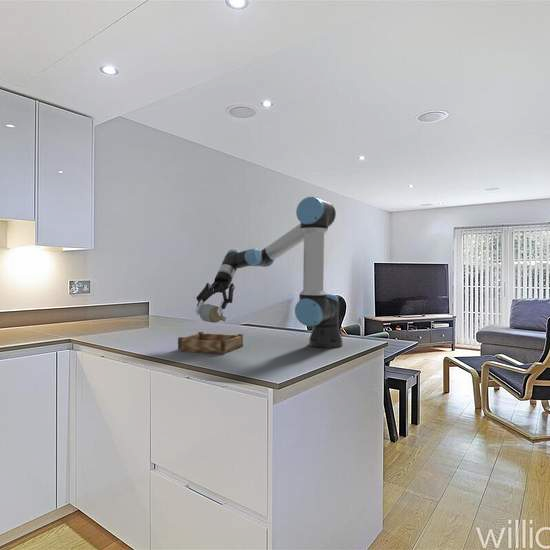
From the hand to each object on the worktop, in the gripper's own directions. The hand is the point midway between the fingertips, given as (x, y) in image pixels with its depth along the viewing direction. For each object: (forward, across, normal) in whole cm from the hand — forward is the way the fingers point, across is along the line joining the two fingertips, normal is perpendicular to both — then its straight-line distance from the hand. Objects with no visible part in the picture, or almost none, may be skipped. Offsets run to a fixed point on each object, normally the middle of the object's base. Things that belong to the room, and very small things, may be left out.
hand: (207, 313), depth 170 cm
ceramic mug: (0, -1, -6) cm, 6 cm away
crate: (+9, 0, -13) cm, 16 cm away
